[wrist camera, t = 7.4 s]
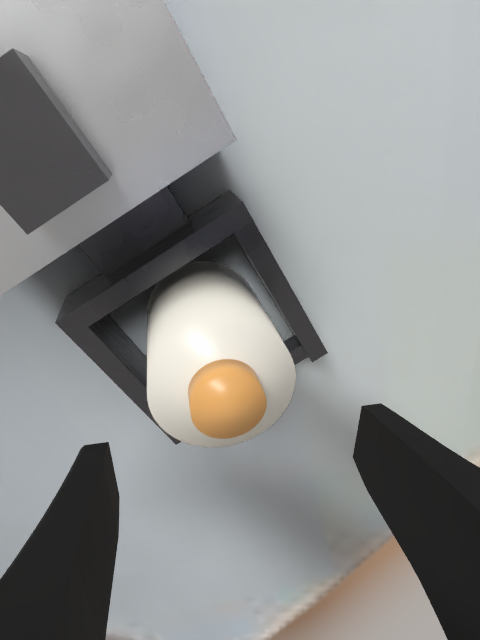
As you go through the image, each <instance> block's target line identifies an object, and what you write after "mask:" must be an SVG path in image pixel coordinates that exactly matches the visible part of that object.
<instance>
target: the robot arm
mask: <svg viewBox="0 0 480 640" xmlns="http://www.w3.org/2000/svg"><path fill="white" fill-rule="evenodd" d="M353 459H354V461H355V463H356V466H357V468H358V471H359V473H360V475H361V477H362V480H363V482H364V484H365V486H366V488H367V491H368V492H369V494H370V496H371V498H372V499H373V501H374V503H375V504H376V506H377V508H378V510H379V511H380V513H381V515H382V516H383V518H384V520H385V521H386V523H387V525H388V526H389V528H390V530H391V531H392V533H393V535H394V536H395V538H396V540H397V541H398V543H399V545H400V547H401V548H402V550H403V552H404V553H405V555H406V557H407V558H408V560H409V561H410V563H411V565H412V567H413V569H414V571H415V572H416V574H417V576H418V578H419V580H420V582H421V584H422V586H423V588H424V590H425V592H426V594H427V596H428V598H429V600H430V603H431V605H432V607H433V609H434V611H435V613H436V615H437V617H438V619H439V621H440V624H441V626H442V628H443V630H444V633H445V635H446V637H447V639H448V640H480V468H479V467H477V466H476V465H474V464H472V463H471V462H469V461H467V460H466V459H464V458H463V457H461V456H459V455H458V454H456V453H455V452H453V451H452V450H450V449H448V448H447V447H445V446H444V445H442V444H441V443H439V442H438V441H436V440H435V439H433V438H432V437H430V436H429V435H427V434H426V433H424V432H423V431H421V430H420V429H418V428H417V427H416V426H414V425H413V424H411V423H410V422H408V421H407V420H405V419H404V418H402V417H401V416H399V415H398V414H396V413H395V412H393V411H392V410H390V409H389V408H387V407H386V406H384V405H383V404H374V405H367V406H362V408H361V414H360V420H359V425H358V431H357V437H356V443H355V448H354V454H353ZM118 533H119V492H118V487H117V482H116V477H115V472H114V467H113V462H112V457H111V452H110V447H109V442H105V443H98V444H91V445H84V446H83V447H82V448H81V449H80V452H79V454H78V456H77V458H76V460H75V462H74V464H73V465H72V467H71V469H70V471H69V473H68V475H67V477H66V479H65V480H64V482H63V484H62V486H61V487H60V489H59V491H58V493H57V494H56V496H55V498H54V499H53V501H52V503H51V504H50V506H49V508H48V509H47V511H46V513H45V514H44V516H43V518H42V519H41V521H40V522H39V524H38V525H37V527H36V529H35V530H34V531H33V533H32V534H31V536H30V537H29V539H28V540H27V542H26V543H25V545H24V546H23V548H22V549H21V551H20V552H19V554H18V555H17V557H16V558H15V560H14V561H13V562H12V564H11V565H10V567H9V568H8V569H7V571H6V572H5V574H4V575H3V576H2V578H1V579H0V640H105V637H106V628H107V620H108V613H109V605H110V597H111V590H112V582H113V574H114V567H115V559H116V551H117V543H118Z"/></svg>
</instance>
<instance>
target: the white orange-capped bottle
mask: <svg viewBox="0 0 480 640" xmlns="http://www.w3.org/2000/svg"><path fill="white" fill-rule="evenodd" d="M295 383H296V371H295V365H294V362H293V359H292V357H291V355H290V353H289V351H288V349H287V348H286V346H285V344H284V343H283V341H282V339H281V338H280V336H279V334H278V332H277V331H276V329H275V327H274V326H273V324H272V322H271V321H270V319H269V317H268V316H267V314H266V312H265V311H264V309H263V307H262V306H261V304H260V302H259V301H258V299H257V297H256V296H255V294H254V292H253V291H252V289H251V287H250V286H249V284H248V283H247V281H246V280H245V279H244V278H243V277H242V275H241V274H239V273H238V272H237V271H236V270H234V269H232V268H231V267H229V266H226V265H224V264H221V263H217V262H212V261H196V262H191V263H187V264H185V265H184V266H182V267H181V268H179V269H177V270H176V271H174V272H173V273H171V274H170V275H168V276H167V277H165V278H163V279H162V280H160V281H159V282H158V283H157V285H156V286H155V288H154V289H153V291H152V293H151V296H150V299H149V302H148V308H147V401H148V406H149V409H150V411H151V414H152V416H153V417H154V419H155V421H156V422H157V423H158V425H159V426H160V427H161V428H162V429H163V430H164V431H165V432H166V433H168V434H169V435H171V436H172V437H174V438H176V439H178V440H180V441H182V442H185V443H187V444H191V445H195V446H201V447H223V446H229V445H234V444H238V443H241V442H244V441H246V440H249V439H251V438H253V437H255V436H257V435H259V434H260V433H262V432H263V431H265V430H266V429H268V428H269V427H270V426H271V425H273V424H274V423H275V422H276V421H277V420H278V419H279V417H280V416H281V415H282V414H283V413H284V411H285V410H286V408H287V406H288V405H289V403H290V401H291V399H292V396H293V393H294V389H295Z"/></svg>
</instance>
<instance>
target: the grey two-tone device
mask: <svg viewBox="0 0 480 640" xmlns="http://www.w3.org/2000/svg"><path fill="white" fill-rule="evenodd" d="M236 140H237V139H236V137H235V136H234V134H233V132H232V130H231V128H230V126H229V124H228V122H227V120H226V118H225V117H224V115H223V113H222V111H221V109H220V107H219V105H218V103H217V101H216V99H215V97H214V96H213V94H212V92H211V90H210V88H209V86H208V84H207V82H206V80H205V78H204V77H203V75H202V73H201V71H200V69H199V67H198V65H197V63H196V61H195V59H194V58H193V56H192V54H191V52H190V50H189V48H188V46H187V44H186V42H185V40H184V38H183V37H182V35H181V33H180V31H179V29H178V27H177V25H176V23H175V21H174V19H173V18H172V16H171V14H170V12H169V10H168V8H167V6H166V4H165V2H164V0H0V296H1V295H2V294H4V293H5V292H7V291H8V290H10V289H11V288H13V287H14V286H16V285H17V284H19V283H20V282H22V281H24V280H25V279H27V278H28V277H30V276H31V275H33V274H34V273H36V272H37V271H39V270H40V269H42V268H43V267H45V266H46V265H48V264H49V263H51V262H52V261H54V260H55V259H57V258H58V257H60V256H61V255H63V254H64V253H66V252H67V251H69V250H70V249H72V248H73V247H75V246H77V245H79V246H80V247H81V248H82V249H83V251H84V252H85V253H86V254H87V255H88V256H89V258H90V259H91V260H92V261H93V262H94V264H95V265H96V266H97V267H98V268H99V270H100V271H101V272H102V273H101V274H100V275H98V276H97V277H95V278H94V279H92V280H91V281H89V282H87V283H86V284H84V285H83V286H81V287H80V288H78V289H77V290H75V291H74V292H72V293H71V294H69V295H67V297H66V299H65V301H64V304H63V306H62V308H61V311H60V313H59V315H58V318H57V320H56V322H55V323H56V324H57V325H58V326H59V327H60V328H61V329H62V330H63V331H64V332H65V333H66V334H67V335H68V336H69V337H70V338H71V339H72V340H73V341H74V342H75V343H76V344H77V345H78V346H79V347H80V348H81V349H82V350H83V351H84V352H85V353H86V354H87V355H88V356H89V357H90V358H91V359H92V360H93V361H94V362H95V363H96V364H97V365H98V366H99V367H100V368H101V369H102V370H103V371H104V372H105V373H106V374H107V375H108V376H109V377H110V378H111V379H112V380H113V381H114V382H115V383H116V384H117V385H118V386H119V387H120V388H121V389H122V390H123V391H124V392H125V394H126V395H127V396H128V397H129V398H130V399H131V400H132V401H133V402H134V403H135V404H136V405H137V406H138V407H139V408H140V409H141V410H142V411H143V412H144V413H145V414H146V415H147V416H148V417H149V418H150V419H151V420H152V421H153V422H154V423H155V424H156V425H157V426H158V427H159V428H160V429H161V430H162V431H163V432H164V433H165V434H166V435H167V436H168V437H169V438H170V439H171V440H172V441H173V442H174V443H175V444H178V443H180V442H181V441H180V440H178V439H176V438H174V437H172V436H171V435H169V434H168V433H166V432H165V431H164V430H163V429H162V428H161V427H160V426H159V425H158V423H157V422H156V421H155V419H154V417H153V416H152V414H151V411H150V409H149V406H148V401H147V358H146V357H145V355H144V354H143V353H142V352H141V351H140V350H139V349H138V348H137V346H136V345H135V344H134V343H133V342H132V341H131V340H130V339H129V337H128V336H127V335H126V334H125V333H124V332H123V331H122V330H121V328H120V327H119V326H118V325H117V324H116V323H115V322H114V321H113V319H112V318H111V317H110V316H109V315H108V314H109V313H110V312H112V311H114V310H115V309H117V308H118V307H120V306H121V305H123V304H124V303H126V302H128V301H129V300H131V299H132V298H134V297H135V296H137V295H139V294H140V293H142V292H143V291H145V290H146V289H148V288H149V287H151V286H153V285H154V284H156V283H157V282H159V281H160V280H162V279H163V278H165V277H167V276H168V275H170V274H171V273H173V272H174V271H176V270H177V269H179V268H181V267H182V266H184V265H185V264H187V263H188V262H190V261H192V260H193V259H195V258H196V257H198V256H199V255H201V254H202V253H204V252H206V251H207V250H209V249H210V248H212V247H213V246H215V245H216V244H218V243H220V242H221V241H223V240H224V239H226V238H227V237H229V236H230V235H232V234H233V235H234V236H235V238H236V240H237V241H238V243H239V245H240V246H241V248H242V250H243V251H244V253H245V255H246V256H247V258H248V260H249V261H250V263H251V265H252V266H253V268H254V270H255V271H256V273H257V274H258V276H259V278H260V279H261V281H262V283H263V284H264V286H265V288H266V289H267V291H268V293H269V294H270V296H271V298H272V299H273V301H274V303H275V304H276V306H277V308H278V309H279V311H280V313H281V314H282V316H283V318H284V319H285V321H286V323H287V324H288V326H289V328H290V329H291V331H292V333H293V334H294V336H293V337H291V338H289V339H288V340H286V341H284V342H283V343H284V344H285V346H286V348H287V349H288V351H289V353H290V355H291V357H292V359H293V362H294V365H295V364H297V363H298V362H300V361H302V360H303V359H305V358H307V357H309V358H310V359H311V361H312V362H314V361H315V360H317V359H318V358H320V357H322V356H323V355H325V354H327V353H328V352H327V351H326V349H325V347H324V345H323V344H322V342H321V340H320V338H319V336H318V335H317V333H316V331H315V329H314V328H313V326H312V324H311V322H310V320H309V319H308V317H307V315H306V313H305V312H304V310H303V308H302V306H301V305H300V303H299V301H298V299H297V297H296V296H295V294H294V292H293V290H292V289H291V287H290V285H289V283H288V281H287V280H286V278H285V276H284V274H283V273H282V271H281V269H280V267H279V265H278V264H277V262H276V260H275V258H274V257H273V255H272V253H271V251H270V249H269V248H268V246H267V244H266V242H265V241H264V239H263V237H262V235H261V233H260V232H259V230H258V228H257V226H256V225H255V223H254V221H253V219H252V217H251V216H250V214H249V212H248V210H247V209H246V207H245V205H244V203H243V202H242V201H241V200H240V199H239V198H238V197H237V196H236V195H235V194H234V193H232V192H231V191H230V190H229V191H227V192H226V193H224V194H223V195H221V196H220V197H218V198H217V199H215V200H213V201H212V202H210V203H209V204H207V205H206V206H204V207H203V208H201V209H200V210H198V211H197V212H195V213H193V214H192V215H190V216H189V217H187V216H186V215H185V213H184V212H183V210H182V209H181V207H180V205H179V204H178V202H177V201H176V199H175V198H174V196H173V195H172V193H171V192H170V190H169V189H168V187H167V185H169V184H170V183H172V182H173V181H175V180H176V179H178V178H180V177H181V176H183V175H184V174H186V173H187V172H189V171H190V170H192V169H193V168H195V167H196V166H198V165H199V164H201V163H202V162H204V161H205V160H207V159H208V158H210V157H211V156H213V155H214V154H216V153H217V152H219V151H220V150H222V149H223V148H225V147H226V146H228V145H229V144H231V143H233V142H234V141H236Z"/></svg>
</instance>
